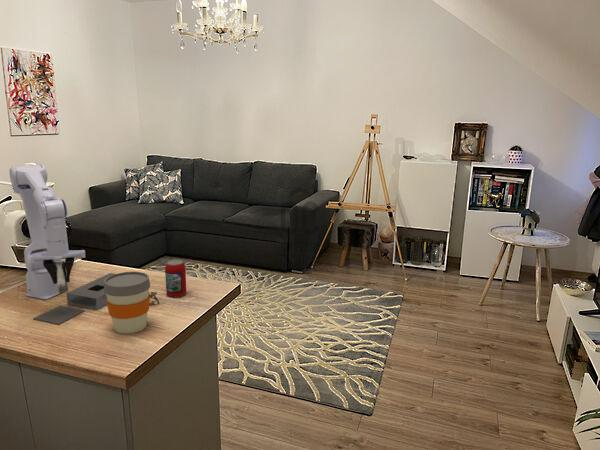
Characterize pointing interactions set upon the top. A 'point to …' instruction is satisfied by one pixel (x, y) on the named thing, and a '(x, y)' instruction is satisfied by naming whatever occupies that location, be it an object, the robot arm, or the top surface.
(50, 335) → the top surface
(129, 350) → the top surface
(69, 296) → the block
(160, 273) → the top surface
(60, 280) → the steel pin
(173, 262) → the beverage can
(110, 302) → the reusable coffee cup
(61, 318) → the rubber mat
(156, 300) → the wooden post with brackets
